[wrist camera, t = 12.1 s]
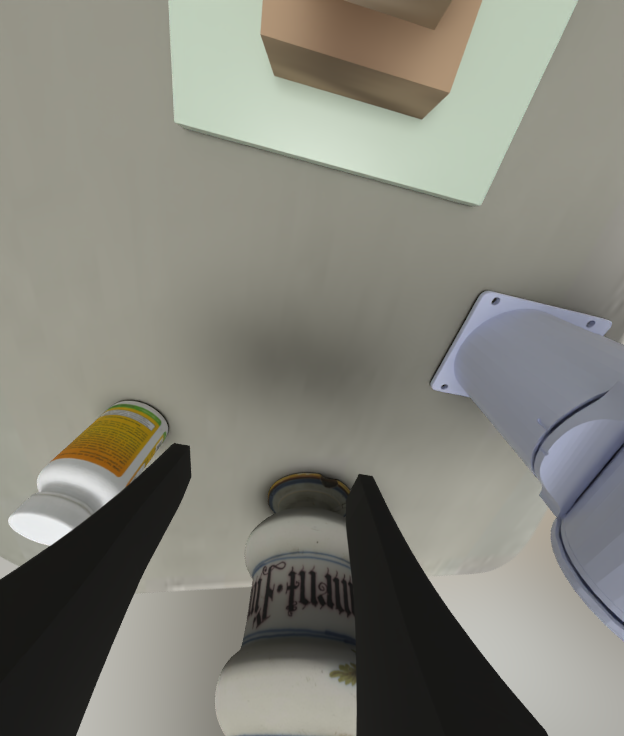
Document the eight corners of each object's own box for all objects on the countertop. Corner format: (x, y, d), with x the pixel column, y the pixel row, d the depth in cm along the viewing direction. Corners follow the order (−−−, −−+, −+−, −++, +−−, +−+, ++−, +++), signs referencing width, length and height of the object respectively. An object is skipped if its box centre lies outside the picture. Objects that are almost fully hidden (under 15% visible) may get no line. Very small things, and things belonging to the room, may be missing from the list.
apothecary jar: (380, 480, 27) (459, 825, 12) (338, 534, 33) (354, 809, 18) (272, 453, 26) (199, 815, 10) (248, 515, 32) (179, 802, 16)
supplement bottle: (99, 398, 23) (-30, 505, 14) (159, 398, 22) (62, 507, 14) (124, 441, 25) (27, 552, 17) (177, 441, 25) (105, 554, 17)
